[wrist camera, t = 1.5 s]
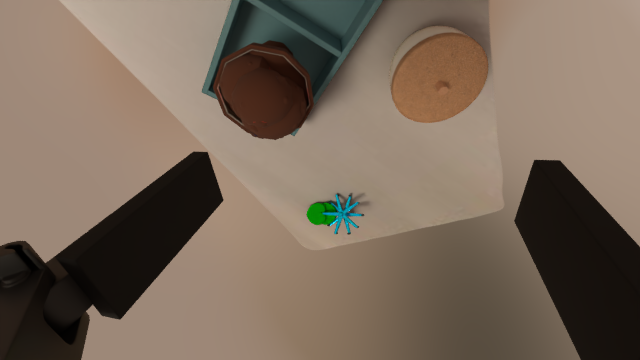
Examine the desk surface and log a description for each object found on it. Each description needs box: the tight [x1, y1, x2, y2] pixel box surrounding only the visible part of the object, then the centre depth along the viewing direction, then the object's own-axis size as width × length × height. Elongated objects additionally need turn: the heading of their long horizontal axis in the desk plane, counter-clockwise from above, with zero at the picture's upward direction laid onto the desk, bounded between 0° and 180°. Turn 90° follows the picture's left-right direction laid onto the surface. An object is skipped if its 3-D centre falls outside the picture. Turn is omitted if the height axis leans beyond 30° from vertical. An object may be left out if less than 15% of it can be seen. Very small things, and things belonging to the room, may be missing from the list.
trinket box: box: [389, 26, 488, 123], centre depth 36 cm, size 11×11×9 cm
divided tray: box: [202, 0, 383, 136], centre depth 34 cm, size 14×26×5 cm, turn 149°
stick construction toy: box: [307, 194, 364, 235], centre depth 60 cm, size 12×7×8 cm
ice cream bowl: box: [213, 40, 314, 140], centre depth 34 cm, size 11×11×15 cm
